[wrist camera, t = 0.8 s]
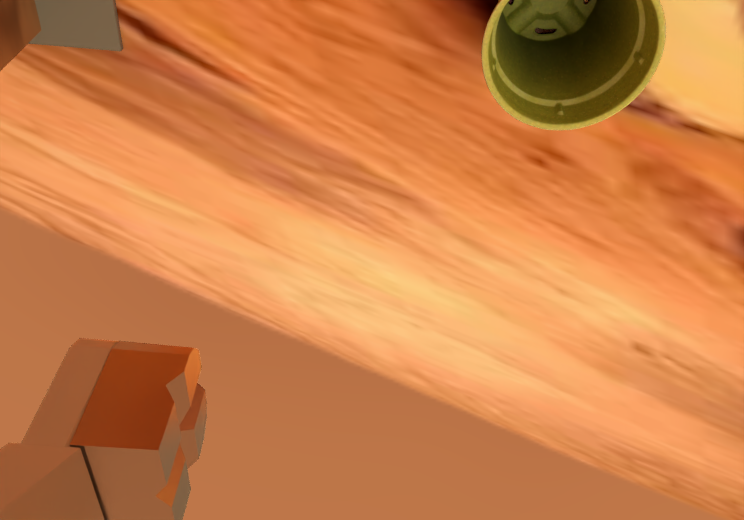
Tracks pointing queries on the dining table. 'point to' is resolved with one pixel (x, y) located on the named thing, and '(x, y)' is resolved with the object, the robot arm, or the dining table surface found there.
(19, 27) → the tower base
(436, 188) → the dining table surface
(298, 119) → the dining table surface
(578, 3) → the plant pot
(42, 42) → the felt mat
